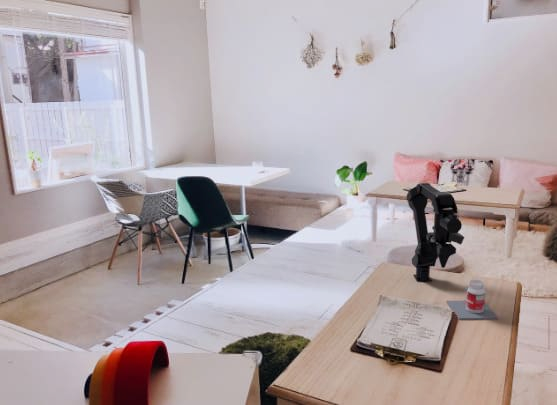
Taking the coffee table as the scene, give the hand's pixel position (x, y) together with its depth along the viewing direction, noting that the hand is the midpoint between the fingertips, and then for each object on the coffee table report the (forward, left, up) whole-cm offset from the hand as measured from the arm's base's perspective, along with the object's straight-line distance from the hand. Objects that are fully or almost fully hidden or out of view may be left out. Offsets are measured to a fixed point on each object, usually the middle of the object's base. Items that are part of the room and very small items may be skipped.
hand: (439, 263), depth 188 cm
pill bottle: (+16, +9, -13) cm, 22 cm away
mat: (+15, +8, -13) cm, 21 cm away
